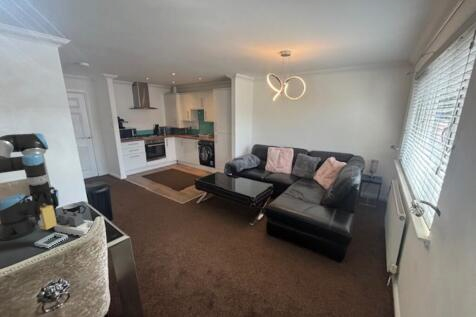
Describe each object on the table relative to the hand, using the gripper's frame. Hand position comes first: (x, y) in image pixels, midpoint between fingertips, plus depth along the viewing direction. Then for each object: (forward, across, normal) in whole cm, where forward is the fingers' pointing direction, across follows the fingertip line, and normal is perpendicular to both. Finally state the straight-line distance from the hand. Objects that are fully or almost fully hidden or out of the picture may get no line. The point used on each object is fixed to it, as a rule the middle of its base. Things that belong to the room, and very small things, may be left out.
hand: (47, 222), depth 109 cm
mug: (+13, +23, +12) cm, 29 cm away
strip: (+12, +13, -3) cm, 18 cm away
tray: (+12, 0, -1) cm, 12 cm away
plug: (+3, 0, 0) cm, 3 cm away
